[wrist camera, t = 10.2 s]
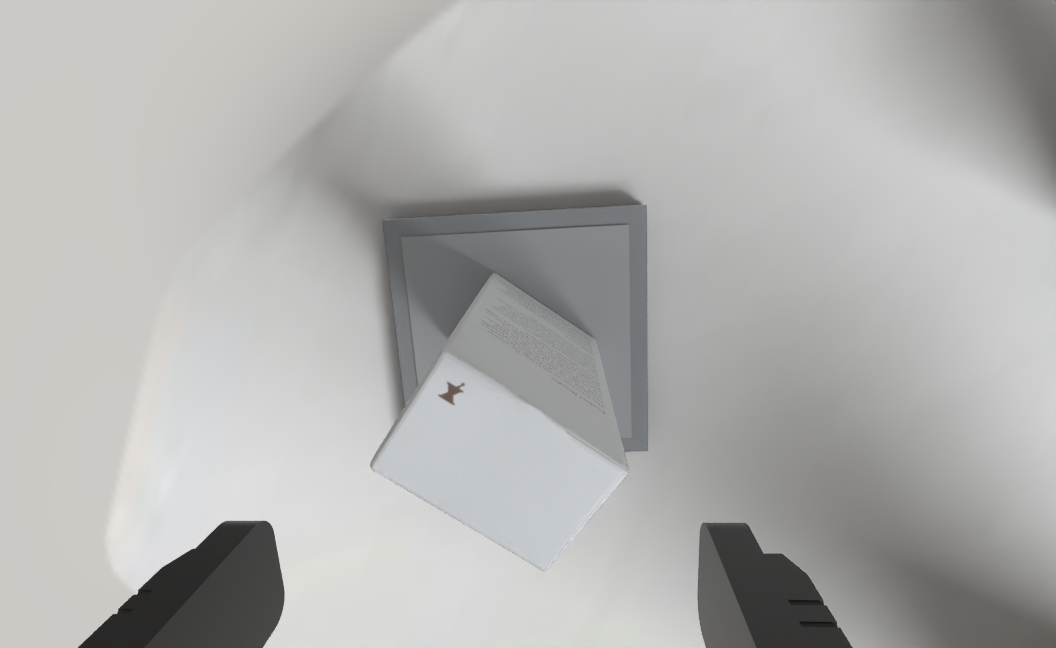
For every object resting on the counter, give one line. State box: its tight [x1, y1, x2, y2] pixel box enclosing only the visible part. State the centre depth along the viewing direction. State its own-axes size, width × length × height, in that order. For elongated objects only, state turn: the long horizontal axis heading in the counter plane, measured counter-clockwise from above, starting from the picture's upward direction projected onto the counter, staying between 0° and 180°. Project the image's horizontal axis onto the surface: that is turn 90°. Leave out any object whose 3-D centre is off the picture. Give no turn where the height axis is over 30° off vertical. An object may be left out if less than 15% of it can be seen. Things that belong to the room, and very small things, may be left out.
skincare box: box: [370, 273, 629, 571], centre depth 20 cm, size 6×4×12 cm
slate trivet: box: [383, 204, 648, 452], centre depth 27 cm, size 12×12×1 cm
